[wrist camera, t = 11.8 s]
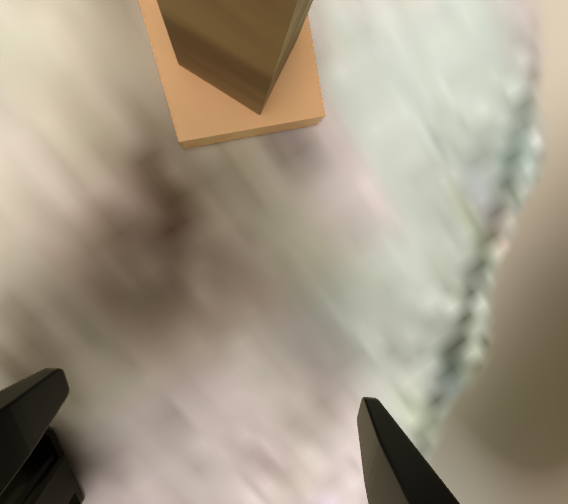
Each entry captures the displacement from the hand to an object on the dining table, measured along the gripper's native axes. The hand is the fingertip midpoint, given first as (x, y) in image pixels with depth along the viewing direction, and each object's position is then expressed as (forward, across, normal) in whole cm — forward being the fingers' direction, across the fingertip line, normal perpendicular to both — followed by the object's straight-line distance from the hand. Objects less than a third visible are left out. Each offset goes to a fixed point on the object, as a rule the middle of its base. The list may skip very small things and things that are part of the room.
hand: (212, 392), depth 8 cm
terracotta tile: (+15, +3, -11) cm, 19 cm away
